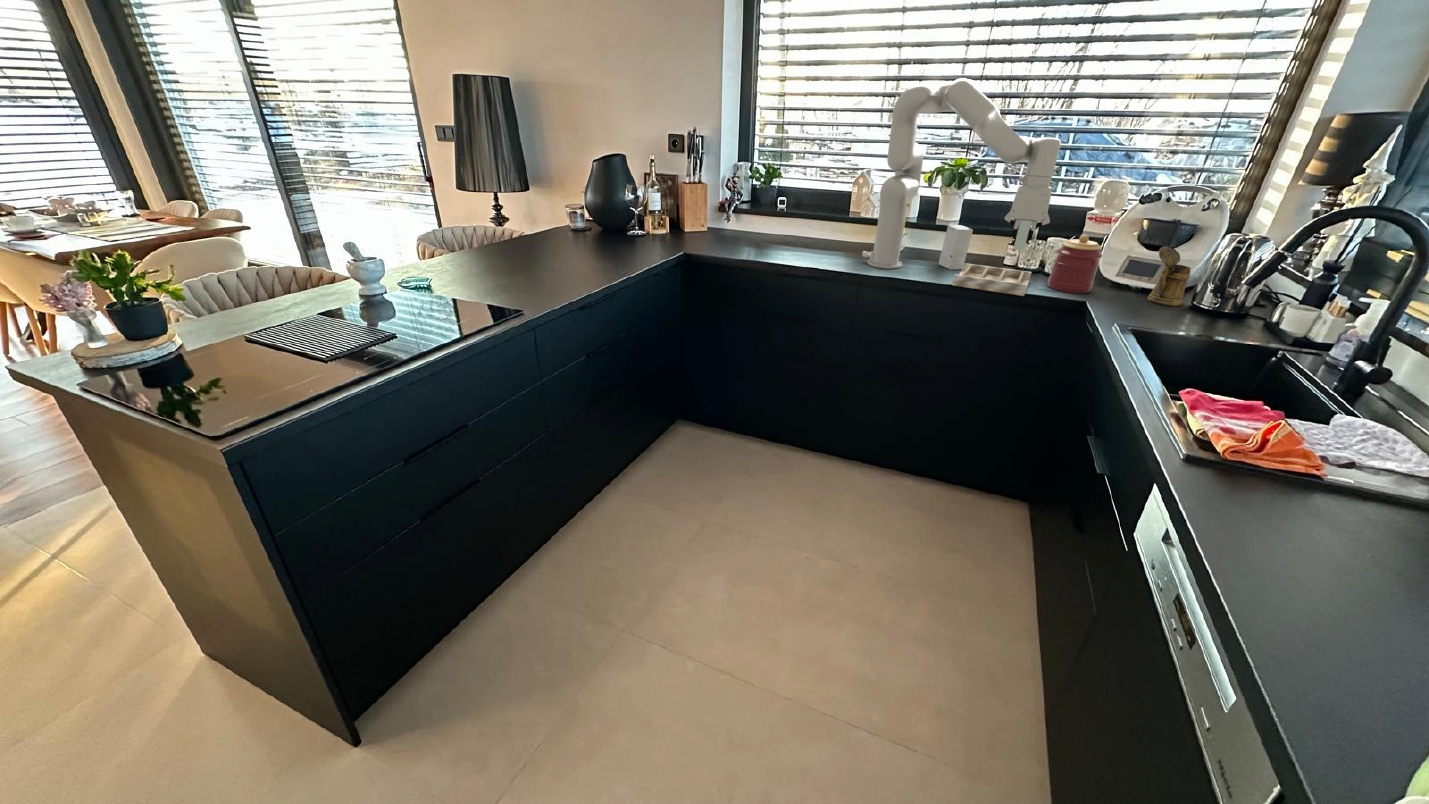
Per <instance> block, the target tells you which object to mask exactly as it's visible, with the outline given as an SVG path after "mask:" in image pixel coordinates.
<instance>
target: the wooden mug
mask: <svg viewBox="0 0 1429 804" xmlns="http://www.w3.org/2000/svg"><path fill="white" fill-rule="evenodd" d="M1158 256H1159V259H1160V260H1161V261H1162V262H1163V263H1164V266H1165V267H1164V268H1163V270H1162V271H1161V272H1160V273H1161V275H1160V277H1158V280H1157V281H1156V284H1155V286H1154V287H1153V289H1152V291H1151V292H1150V293H1149V295H1148V296H1147V298H1146V300H1147V301H1149V302H1150V303H1154V304H1158V305H1161V306H1162V305H1164V306H1169V307H1170V306H1171V307H1178V305H1180V306H1181V305H1183V301H1184V298H1183V297H1184V295H1185V291H1186V288H1187V287H1186V286H1187V283H1188V280H1189V278H1190V277H1191V270H1192V268H1191V267H1190V266H1188V265H1187V266H1186V265H1183V264H1179V263H1180V261H1181V254H1180V253H1179V251H1177V250H1176V249H1175V248H1174V247H1172V246H1170V245H1165V246H1162V247H1160V248H1159V250H1158Z"/></svg>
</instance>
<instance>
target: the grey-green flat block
mask: <svg viewBox="0 0 1429 804" xmlns="http://www.w3.org/2000/svg"><path fill="white" fill-rule="evenodd" d="M1031 227H1032V221H1031V220H1021V221H1020V224H1019V229H1018V233H1017V237H1016V241H1015V242H1014V245H1013V248H1012V249H1013V250H1015V251H1016V250H1017V251H1025V249H1026V246H1027V243H1026V241H1027V237H1028V233H1029V230H1030V228H1031Z"/></svg>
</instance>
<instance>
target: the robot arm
mask: <svg viewBox="0 0 1429 804" xmlns="http://www.w3.org/2000/svg"><path fill="white" fill-rule="evenodd" d="M942 112H943V113H944V112H954V113H956V115H958V116H959V118H961V119H962V120H963V122H965V123H966V124H967V125H968V126H969V127H970V128H971V129H972V130H973V131H974V132H975V134H976V135H977V136H978V138H980V140H981V141H982V142H983V144H985V146H986V147H987V148H988V149H990V151H991V152H993V153H994V155H996V156H997V158H999V160H1001V161H1002V162H1004V163H1006V164H1016V163H1025V162H1027V166H1026V169H1025V173H1024V175H1023V176H1019V177H1018V182H1021V183H1022V185H1019V186H1018V188H1017V191H1016V193H1015V196H1014V198H1013V202H1012V206H1011V209H1010V211H1009V212H1008V213H1007V214H1006V215H1005V216H1004V220H1005V221H1006V222H1008V223H1009V224H1010V225H1011V227H1012V228H1013V229H1014V230H1013V233H1012V235H1011V236H1012V237H1011V239H1012V240H1013V243H1015V241H1016V237H1017V233H1018V229H1019V225H1020V221H1021V220H1031V221H1032V224H1031V228H1030V230H1029V233H1028V237H1027V241H1026V245H1028V244H1029V242H1030V241H1032V240H1033V237H1034V233H1035V230H1037V229H1039V228H1040V227H1042V226H1044V225H1048V224H1050V222H1051V220H1050V216H1049V213H1048V211H1049V207H1050V202H1051V197H1052V187H1051V182H1052V179H1053V174H1054V171H1055V168H1056V167H1055V166H1056V163H1057V160H1058V158H1059V157H1058V156H1059V152H1060V150H1061V149H1060V148H1061V146H1062V145H1061V144H1062V141H1061V140H1060V139H1059V138H1057V137H1037V138H1036V137H1031V136H1026V135H1025V136H1023V135H1022V136H1021V135H1019V134H1018V133H1016V132H1015V131H1014V130H1013V129H1012V128H1011V127H1010V125H1008V123H1006V121H1005V120H1004V119H1003V117H1002V115H1001V113H1000V109H999V108H998V106H997V105H996V104H995V103H994V102H993V101H992V100H990V99H989V98H988V97H987V95H985V94H984V93H983V92H982V91H981V89H980V85H979V84H978V83H977V81H975V80H973V79H968V78H965V77H964V78H963V77H962V78H957V79H955V80H954V81H952V82H949V83H941V84H931V83H916V84H914V85H912V86H910V87H908V88H907V89H906V90H904V91H903V92H902V93H901V94H900V96H899V97H898V98H897V99H896V101H895V104H894V106H893V110H892V116H891V118H892V119H891V125H890V126H891V128H890V135H889V142H888V143H889V144H888V150H887V158H886V159H887V160H886V161H887V165H888V167H889V169H891V170H892V171H894V175H893V176H891V177H888V178H887V179H886V180H884V182H883V184H882V185H881V188H880V193H879V209H878V210H879V211H878V212H879V213H878V219H877V226H876V232H875V237H874V238H875V241H874V245H873V251H866V250H862V252H861V256H862V257H863V258H869V259H868V260H867V265H868V266H871V267H875V268H879V269H886V270H887V269H891V270H892V269H899V268H901V267H903V262H902V261H901V260H899V259H900V254H901V250H902V249H901V248H902V241H903V237H904V231H905V225H906V224H905V223H906V219H907V202H908V201H911V200H912V199H914V197H916V195H917V194H918V193H919V188H920V185H921V177H922V169H923V163H924V153H923V148H922V146H921V145H920V144H919V143H917V142H916V136H917V131H918V121H917V119H918V115H919V114H935V113H942Z"/></svg>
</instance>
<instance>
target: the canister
mask: <svg viewBox="0 0 1429 804" xmlns="http://www.w3.org/2000/svg"><path fill="white" fill-rule="evenodd" d="M1089 239H1090V237H1089V235H1088V234H1081V235H1080V236H1079V238H1078V239H1075V238H1074V239H1073V238H1072V239H1068V240H1066V241H1064V242H1061V246H1062V247H1060V248H1058V249H1057V250H1056V252H1057V255H1056V258H1054V259H1053V265H1052V268H1051V271H1050V275H1049V277H1048V278H1047V279H1048V280H1047V286H1048V288H1051V289H1053V290H1055V291H1059V292H1060V291H1061V292H1065V293H1070V294H1071V293H1073V294H1086V293H1089V292H1090V291H1091V289H1092V288H1093V285H1094V280H1095V277H1096V276H1097V275H1096V274H1097V271H1098V269H1099V267H1100V265H1099V261H1100V259H1101V258H1103V254H1102V253H1101V252H1100V251H1101V250H1102V249H1103V247H1102V246H1101V245H1099V243H1098V242H1097V241H1093V240H1089Z"/></svg>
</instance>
